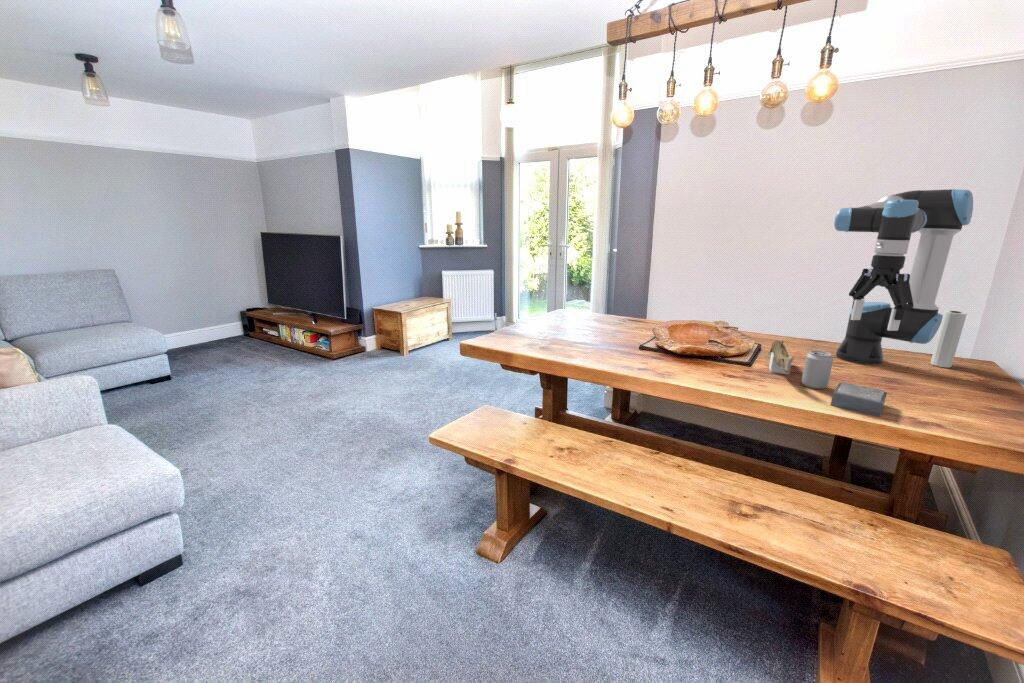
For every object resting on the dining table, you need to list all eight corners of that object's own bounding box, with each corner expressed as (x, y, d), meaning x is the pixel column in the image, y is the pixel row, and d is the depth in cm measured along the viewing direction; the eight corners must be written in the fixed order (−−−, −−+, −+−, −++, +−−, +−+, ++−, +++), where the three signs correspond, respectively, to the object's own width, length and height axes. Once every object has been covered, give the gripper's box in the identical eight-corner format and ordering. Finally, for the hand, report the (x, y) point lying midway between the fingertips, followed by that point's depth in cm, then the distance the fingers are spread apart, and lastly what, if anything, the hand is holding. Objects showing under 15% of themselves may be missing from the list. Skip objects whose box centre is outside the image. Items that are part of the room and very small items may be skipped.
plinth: (837, 394, 147) (840, 380, 145) (884, 404, 139) (887, 390, 138) (830, 405, 138) (833, 391, 137) (880, 416, 130) (883, 402, 129)
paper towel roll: (939, 367, 173) (955, 313, 167) (926, 362, 179) (940, 309, 173) (958, 368, 173) (975, 313, 167) (944, 363, 178) (959, 310, 173)
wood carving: (770, 386, 152) (776, 355, 149) (761, 357, 183) (766, 331, 180) (801, 391, 149) (807, 358, 146) (787, 360, 180) (792, 333, 177)
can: (801, 380, 158) (808, 347, 155) (827, 385, 154) (834, 351, 151) (800, 387, 152) (806, 353, 149) (826, 392, 148) (834, 357, 145)
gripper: (844, 251, 144) (831, 315, 150) (917, 258, 121) (897, 335, 126) (866, 251, 145) (852, 315, 151) (943, 258, 121) (922, 335, 127)
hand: (872, 324), depth 139 cm, fingers open, 13 cm apart
